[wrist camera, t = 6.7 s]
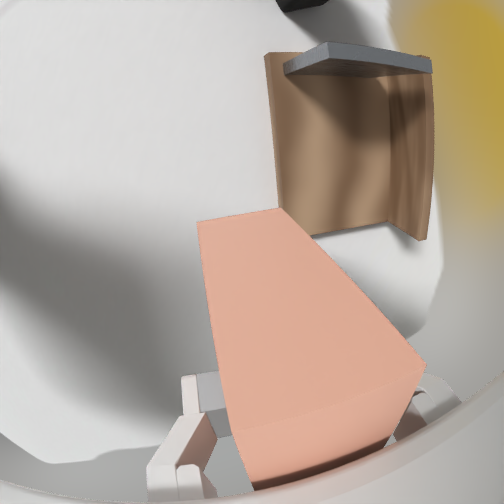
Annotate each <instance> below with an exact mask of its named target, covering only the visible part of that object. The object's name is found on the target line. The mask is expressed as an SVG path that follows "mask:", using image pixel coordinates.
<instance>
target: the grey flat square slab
mask: <svg viewBox="0 0 504 504" xmlns="http://www.w3.org/2000/svg"><path fill="white" fill-rule="evenodd" d="M283 72H284V75H329V76H348V77H361V78H376V77H386V76H397V75H411V74H432V63H431V60H429V59H426V58H422V57H418V56H413V55H409V54H405V53H401V52H396V51H391V50H386V49H380V48H374V47H368V46H361V45H354V44H346V43H336V42H325V43H323V44H321V45H319V46H317V47H314V48H312V49H310V50H308V51H306V52H304V53H302V54H300V55H298V56H296V57H294V58H292V59H290V60H288V61H287V62H285V63H283Z"/></svg>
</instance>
